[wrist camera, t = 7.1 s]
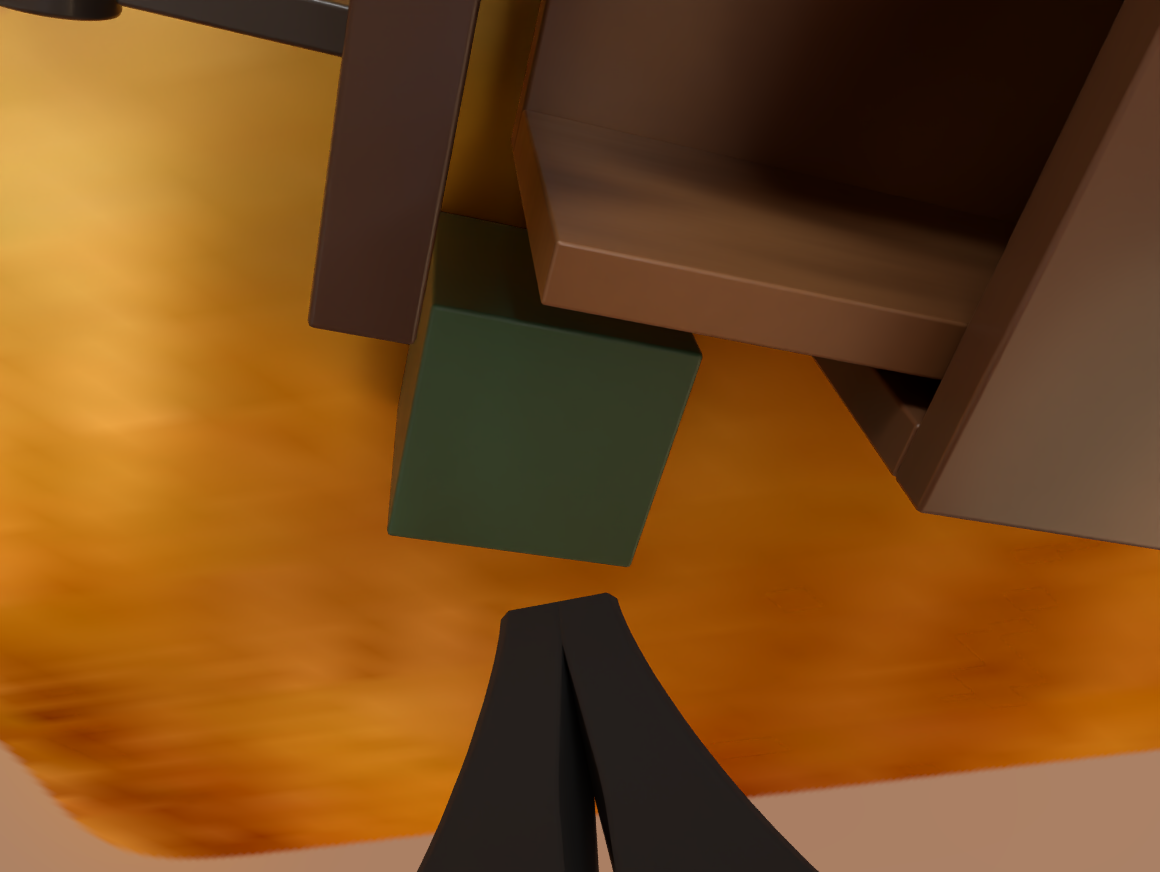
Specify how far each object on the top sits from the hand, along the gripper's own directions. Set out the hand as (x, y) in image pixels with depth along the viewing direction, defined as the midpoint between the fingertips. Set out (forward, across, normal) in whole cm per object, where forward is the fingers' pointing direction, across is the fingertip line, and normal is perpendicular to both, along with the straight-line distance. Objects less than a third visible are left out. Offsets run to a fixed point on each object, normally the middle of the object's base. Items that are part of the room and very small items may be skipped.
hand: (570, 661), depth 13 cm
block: (+9, 0, 0) cm, 9 cm away
